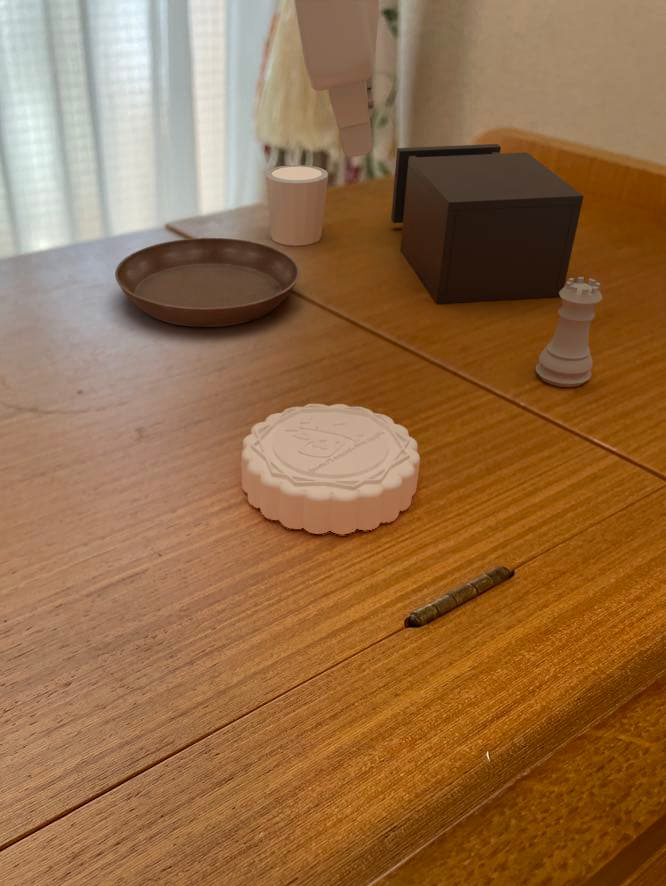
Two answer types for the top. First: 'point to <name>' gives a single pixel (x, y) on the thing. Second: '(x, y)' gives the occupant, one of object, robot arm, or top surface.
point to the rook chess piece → (571, 336)
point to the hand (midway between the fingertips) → (361, 134)
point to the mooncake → (330, 468)
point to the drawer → (407, 153)
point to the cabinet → (488, 227)
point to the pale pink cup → (296, 203)
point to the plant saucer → (207, 280)
